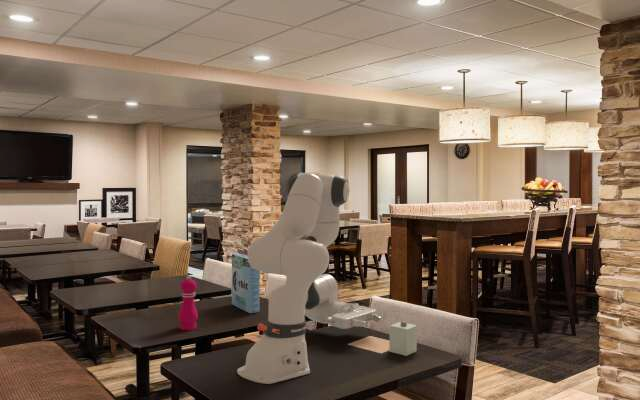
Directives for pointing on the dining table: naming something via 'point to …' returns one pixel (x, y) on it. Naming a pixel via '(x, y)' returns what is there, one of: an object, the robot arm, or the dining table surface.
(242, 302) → the gum box
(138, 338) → the dining table surface
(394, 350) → the pale green square canister
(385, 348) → the mat
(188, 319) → the pepper mill
